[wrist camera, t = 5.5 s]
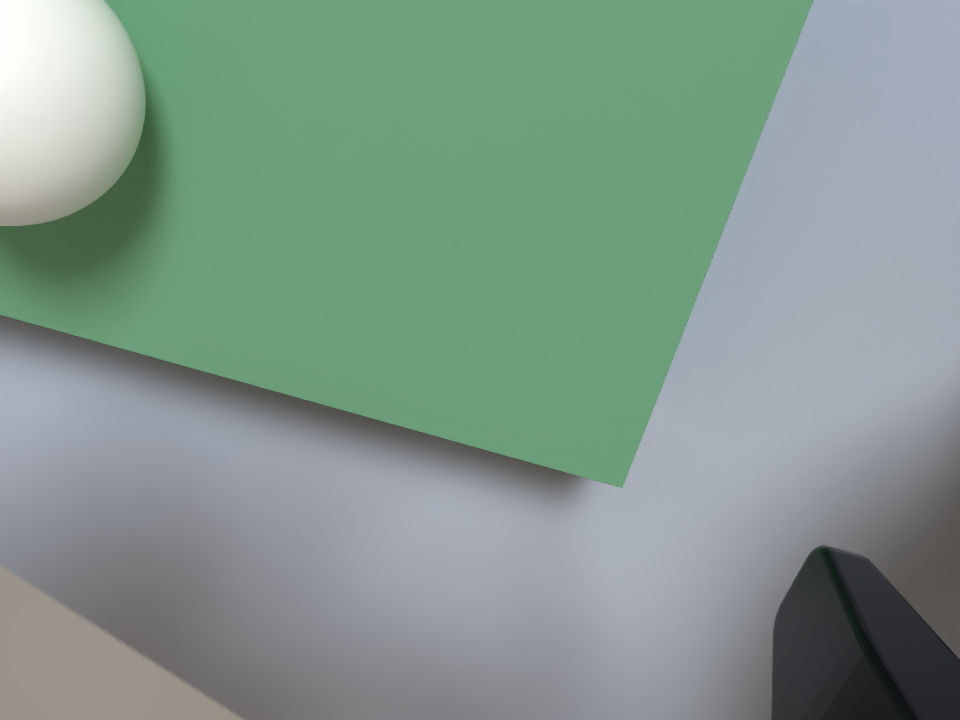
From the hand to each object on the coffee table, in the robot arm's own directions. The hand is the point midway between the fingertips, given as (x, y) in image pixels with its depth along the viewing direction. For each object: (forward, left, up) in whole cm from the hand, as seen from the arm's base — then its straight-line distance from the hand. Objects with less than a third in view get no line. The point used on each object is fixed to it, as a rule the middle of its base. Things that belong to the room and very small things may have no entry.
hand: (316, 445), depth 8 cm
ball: (+8, 0, -7) cm, 11 cm away
